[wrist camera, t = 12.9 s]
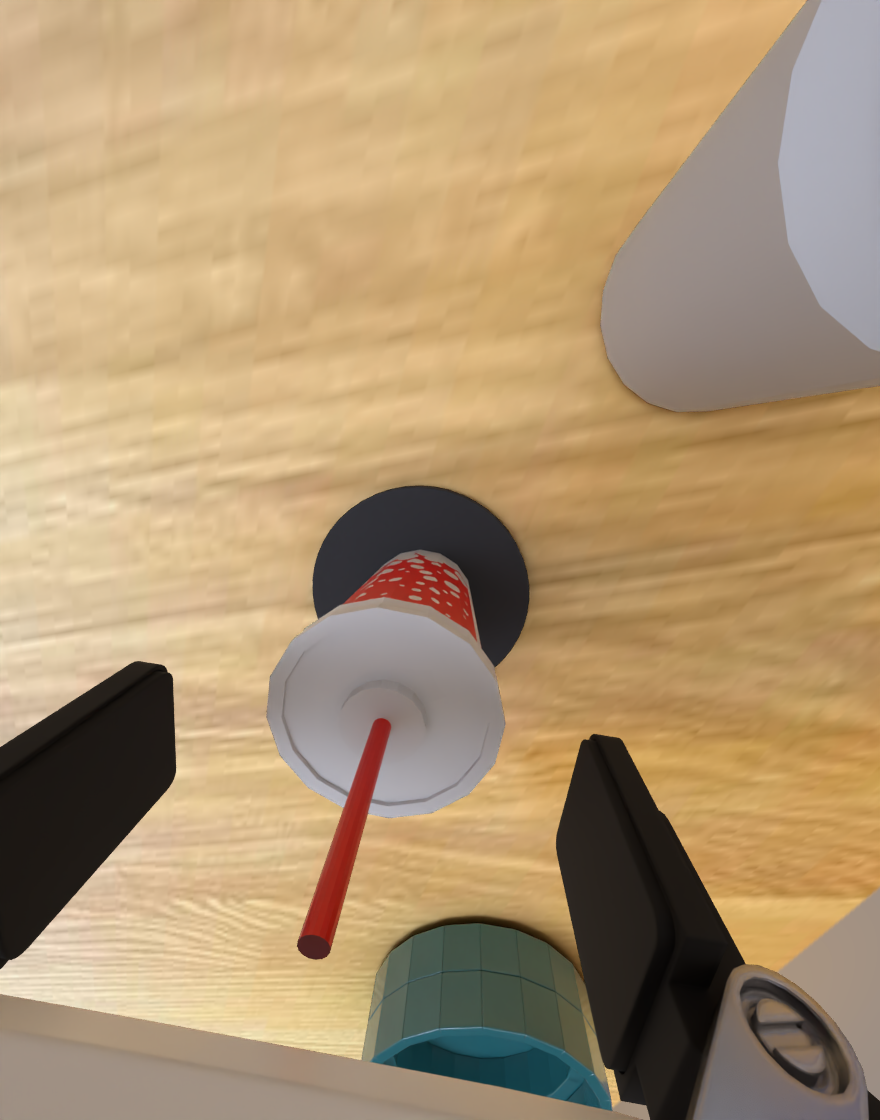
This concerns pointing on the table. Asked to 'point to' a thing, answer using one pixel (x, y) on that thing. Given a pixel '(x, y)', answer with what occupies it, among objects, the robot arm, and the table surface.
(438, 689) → the beverage cup
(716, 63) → the table surface
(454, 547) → the coaster
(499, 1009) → the bowl
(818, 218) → the can
